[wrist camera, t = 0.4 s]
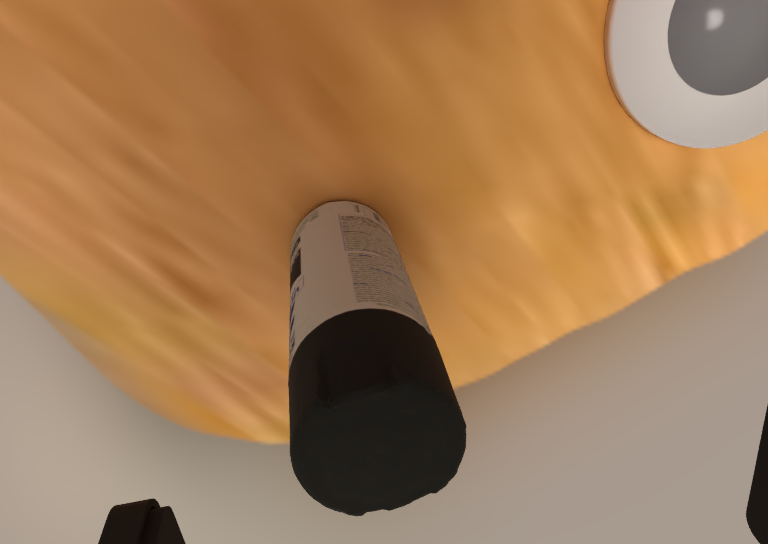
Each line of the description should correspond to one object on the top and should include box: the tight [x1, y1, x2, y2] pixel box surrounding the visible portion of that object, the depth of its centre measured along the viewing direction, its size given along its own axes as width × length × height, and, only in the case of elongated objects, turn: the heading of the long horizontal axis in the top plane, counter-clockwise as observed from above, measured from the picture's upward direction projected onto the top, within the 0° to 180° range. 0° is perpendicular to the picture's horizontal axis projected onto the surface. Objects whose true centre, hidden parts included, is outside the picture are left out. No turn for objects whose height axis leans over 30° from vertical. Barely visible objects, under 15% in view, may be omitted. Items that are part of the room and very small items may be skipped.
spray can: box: [288, 201, 466, 516], centre depth 31 cm, size 7×7×20 cm
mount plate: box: [604, 0, 768, 148], centre depth 37 cm, size 15×15×1 cm
